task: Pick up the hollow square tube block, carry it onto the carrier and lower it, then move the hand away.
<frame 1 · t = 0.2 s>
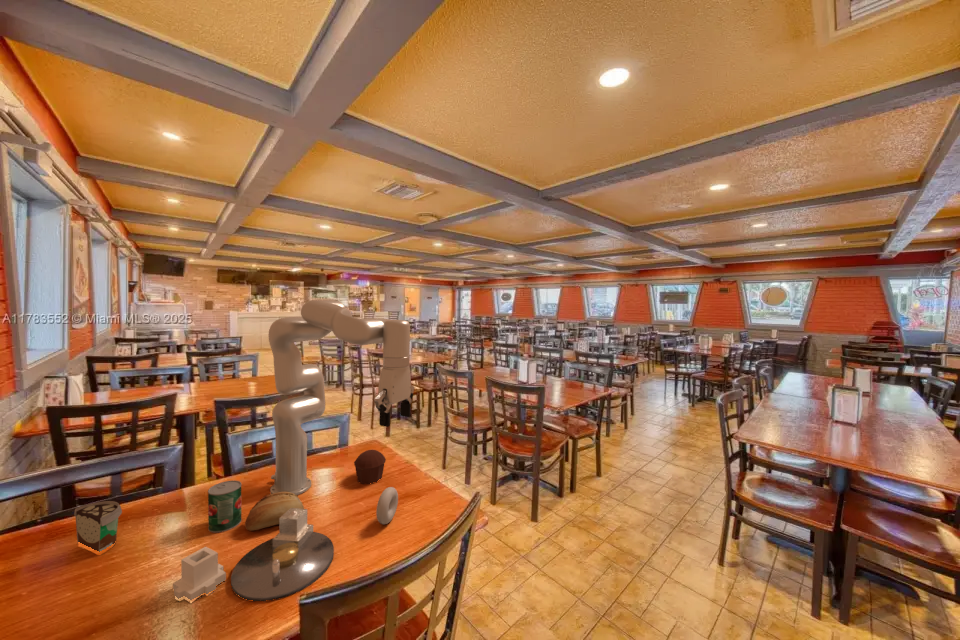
hand: (395, 420, 102), 31 cm above the table, fingers open, 9 cm apart
donut: (387, 522, 105), on the table
carrier: (285, 564, 87), on the table
canned tomato: (225, 524, 102), on the table
food container: (104, 544, 93), on the table
bread roll: (275, 523, 103), on the table
muffin: (369, 478, 131), on the table
hollow square tube block: (200, 586, 80), on the table
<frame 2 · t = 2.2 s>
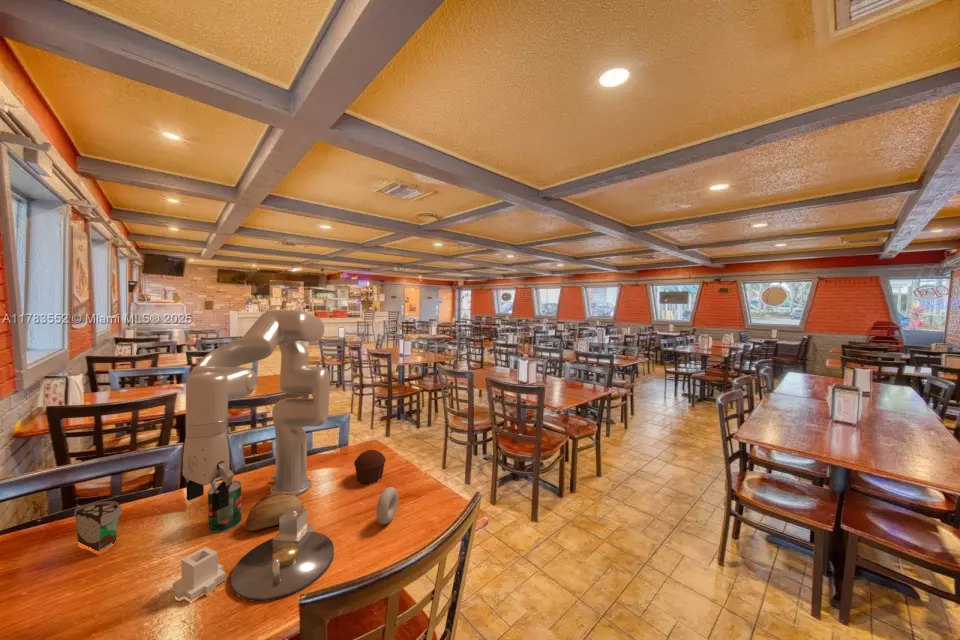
hand: (207, 502, 80), 19 cm above the table, fingers open, 9 cm apart
nothing on the table moved.
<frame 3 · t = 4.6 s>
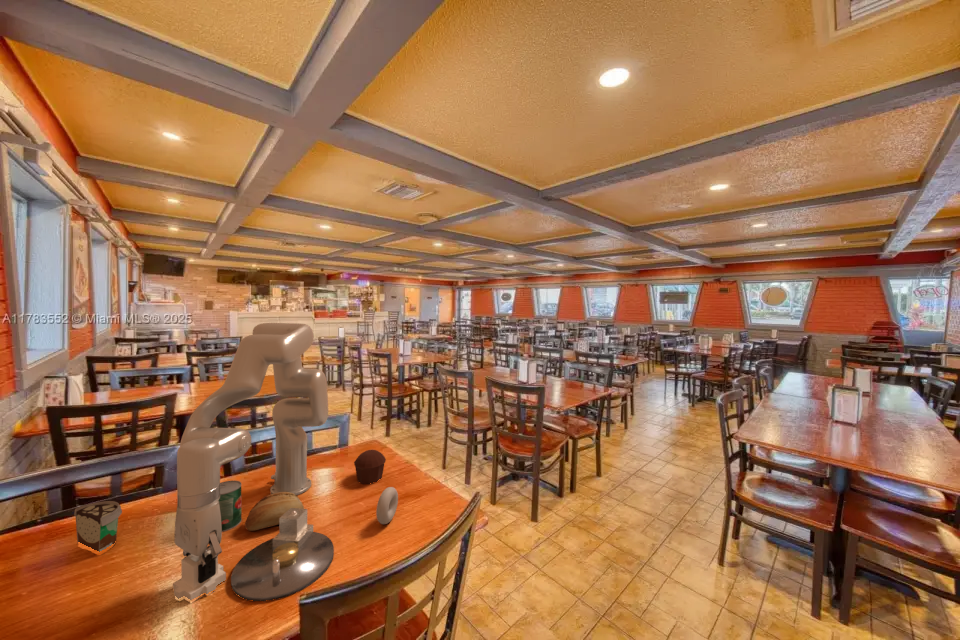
hand: (199, 573, 80), 3 cm above the table, fingers closed on hollow square tube block, 4 cm apart
hollow square tube block: (200, 586, 80), on the table, touching gripper
everything else where it was.
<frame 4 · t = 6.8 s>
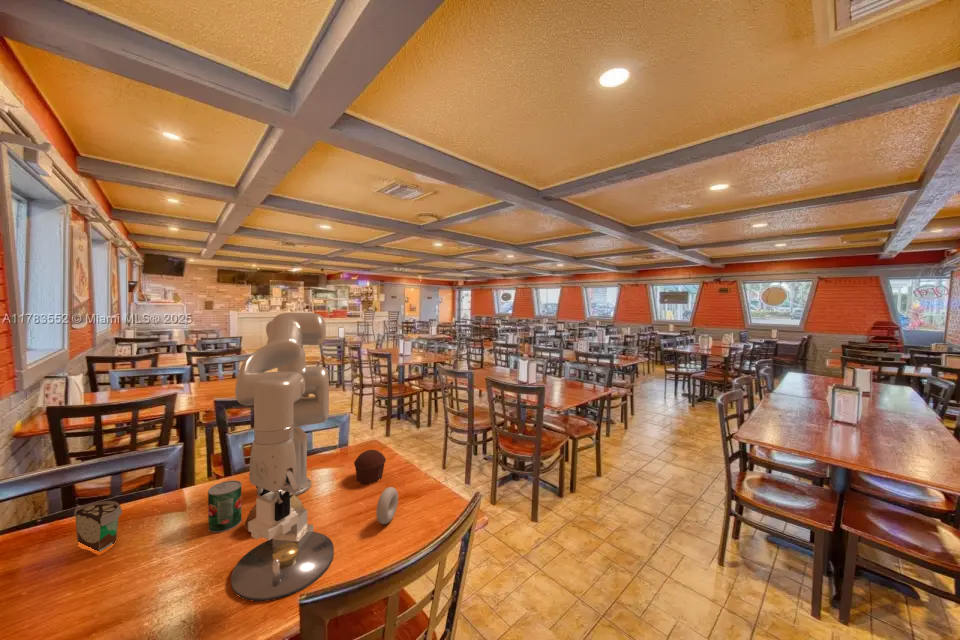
hand: (274, 513, 79), 17 cm above the table, fingers closed on hollow square tube block, 4 cm apart
hollow square tube block: (273, 526, 79), point 15 cm above the table, touching gripper
everything else where it was.
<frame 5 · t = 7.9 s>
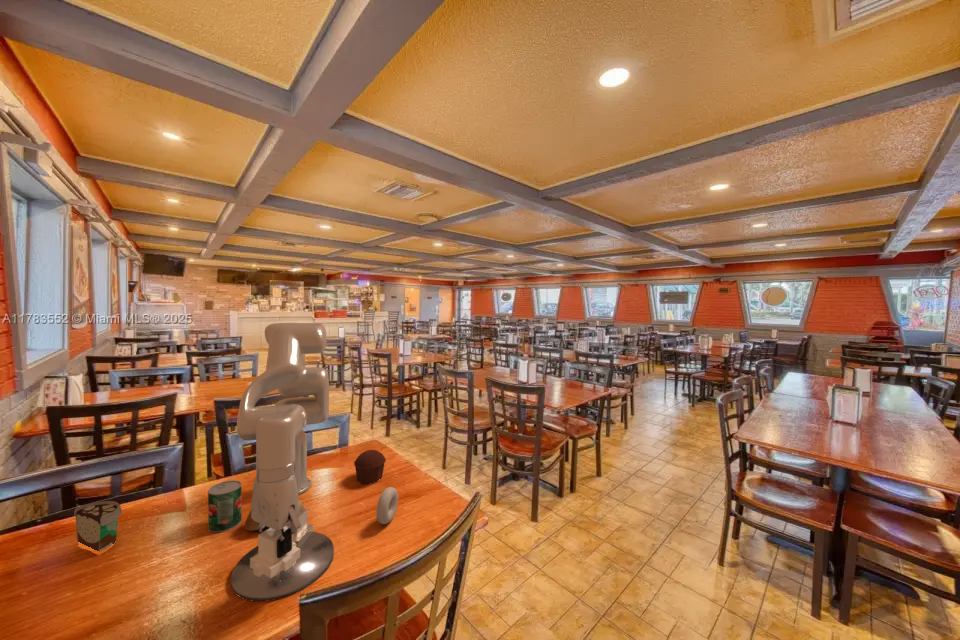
hand: (276, 549, 79), 9 cm above the table, fingers closed on hollow square tube block, 4 cm apart
hollow square tube block: (275, 562, 79), point 6 cm above the table, touching gripper
everything else where it was.
when the fingers open (6 cm above the table, at t = 8.9 s): hollow square tube block drops 2 cm, resting on carrier.
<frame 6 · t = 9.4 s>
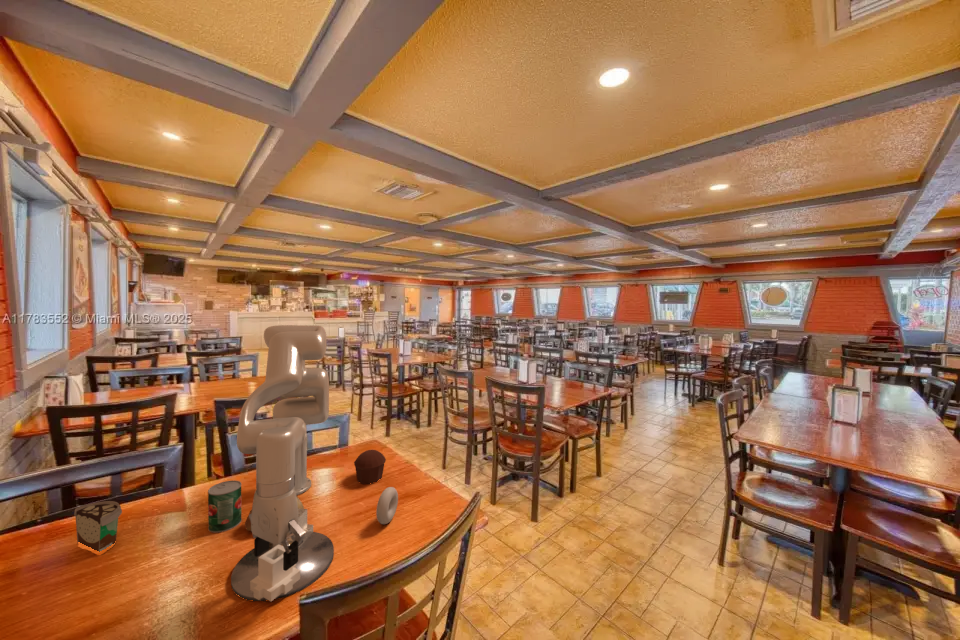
hand: (276, 559, 79), 7 cm above the table, fingers open, 9 cm apart
hollow square tube block: (275, 584, 79), point 1 cm above the table, touching carrier
everything else where it was.
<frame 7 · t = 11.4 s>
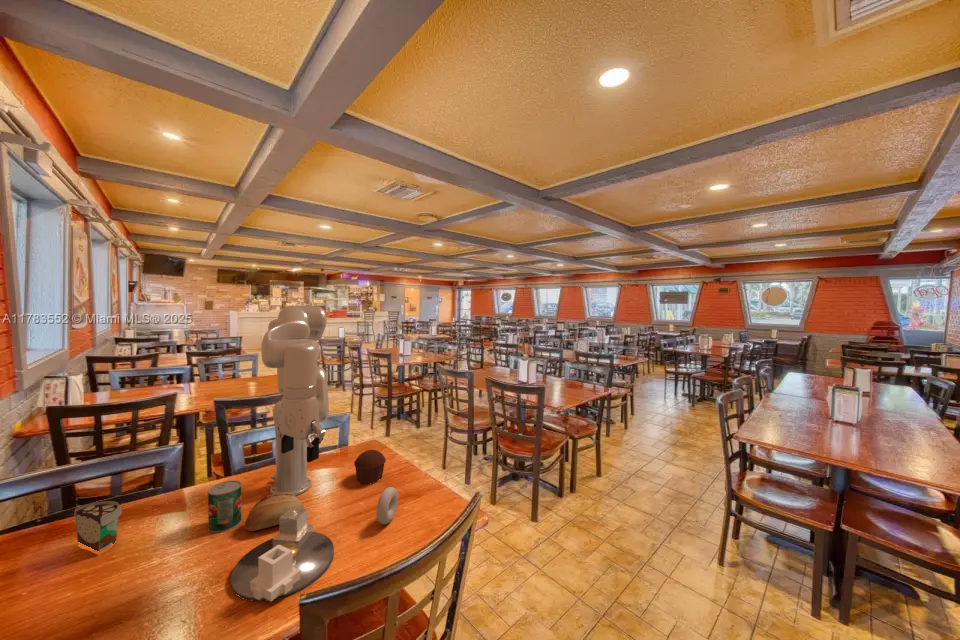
hand: (299, 455, 92), 25 cm above the table, fingers open, 9 cm apart
nothing on the table moved.
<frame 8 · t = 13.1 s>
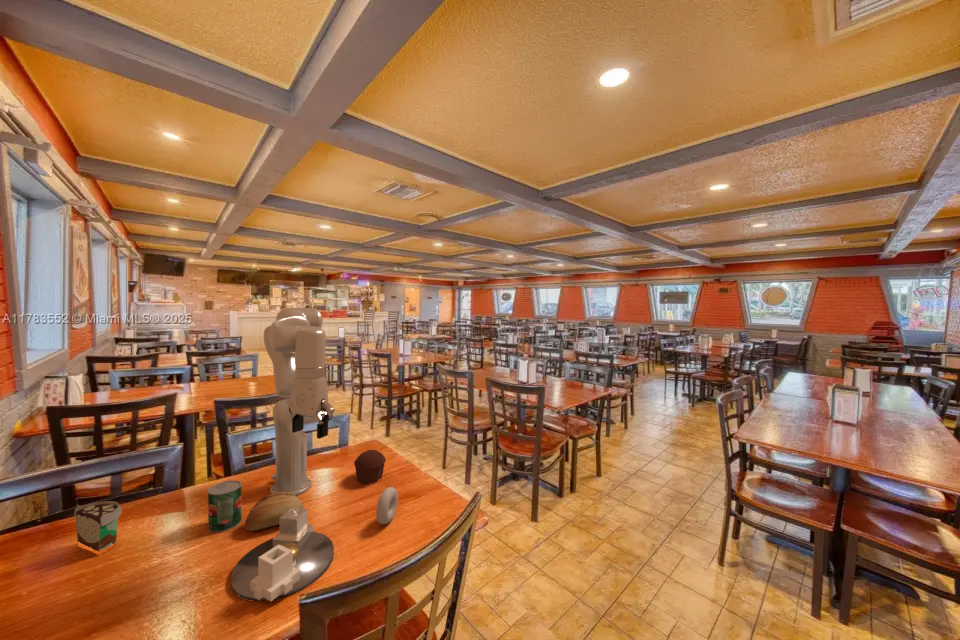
hand: (309, 433, 98), 28 cm above the table, fingers open, 9 cm apart
nothing on the table moved.
at the end: hollow square tube block 0.1 cm from the target spot, point 1.2 cm above the table; hollow square tube block tilted 0°; the gripper is holding nothing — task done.
